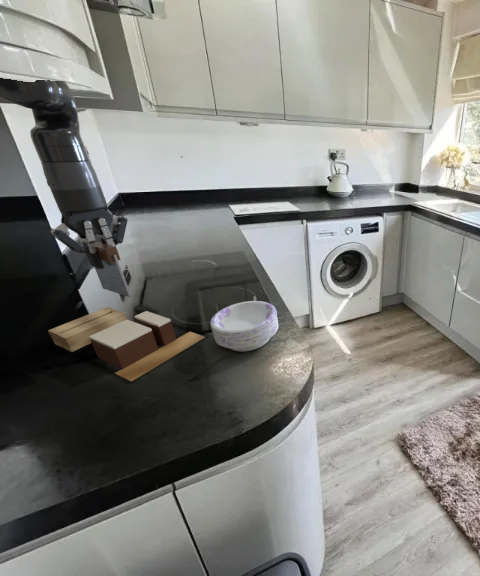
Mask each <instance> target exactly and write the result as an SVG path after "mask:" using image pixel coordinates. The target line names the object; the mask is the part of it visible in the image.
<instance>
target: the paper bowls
mask: <svg viewBox="0 0 480 576" xmlns="http://www.w3.org/2000/svg"><path fill="white" fill-rule="evenodd" d="M277 312H278V311H277V309H276V307H275V306H274V305H273V304H271V303H269V302H267V301H261V300H249V301H242V302H241V301H240V302H237V303H233V304H230V305H228V306H226V307H223V308H222V309H220V310H219V311H217V312H216V313H215V314H214V315H213V316H212V317H211V319H210V322H209V324H210V327H211V332H212V337H213V338H214V341H215V344H217V345H218V346H221V347H223V348H226V349H231V350H232V351H234V352H235V351H236V352H250V351H254V350H256V349H257V350H258V349H259V348H261V347H264V345H266V344H267V343H268V342H269V340H270V339H271V338H272V337H274V335H275V334H276V333H277V332H278V330H279V320H278V313H277Z"/></svg>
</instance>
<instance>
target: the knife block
mask: <svg viewBox="0 0 480 576" xmlns="http://www.w3.org/2000/svg"><path fill="white" fill-rule="evenodd" d="M126 315H127V314H126V312H123V311H121V310H119V309H115V308H113V307H109V306H107V307H104V308H101V309H99V310H96V311H94V312H91V313H89V314H85V315H83V316H81V317H78V318H76V319H73V320H71V321H68V322H65V323H64V324H60V325H58V326H56V327H53V328H51V329H48V331H47V332H48V334H49V336H50V337H51V339H52V341H53V343H54V345H56V346H59V347H60V348H62V349H65V350H66V351H69V352H71V353H73V352H75V351H78V350H79V349H81V348H84V347H86V346H88V345H91V344H92V343H91V340H90V338H89V336H91V335H93V334H95V333H98V332H100V331H102V330H104V329H107V328H109V327H111V326H114V325H116V324H118V323H120V322H123V321H125V320H128V318H127V316H126Z"/></svg>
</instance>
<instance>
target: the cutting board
mask: <svg viewBox="0 0 480 576" xmlns="http://www.w3.org/2000/svg"><path fill="white" fill-rule="evenodd" d="M205 338H206V336H204V335H202V334H198V333H195V332H192V331H188V332H186V333H184V334H182V335H180V336H179V337H176V340H175V341H173V342H171V343H169V344H167V345H166V346H165V345H163V346H161V347H158V350H157V351H155V352H153V353H151V354H149V355H148V356H146V357H144V358H142V359H140V360H139V361H137V362H135V363H133V364H131V365H130V366H128V367H126V368H124V369H121V368H120V369H119V370H118V371H116V372H114V375H117V376H119V377H121V378H123V379H125V380H127V381H129V382H133V381H135V380H137V379H138V378H140V377H142V376H143V375H145V374H147V373H148V372H150V371H152V370H153V369H155V368H157V367H158V366H160V365H161V364H163V363H165V362H166V361H169V360H170V359H172V358H173V357H175V356H176V355H179V354H180V353H181V352H182V353H183V352H184V351H185V350H186V349H188V348H190V347H191V346H194V345H195V344H197V343H199V342H200V341H201V340H203V339H205Z"/></svg>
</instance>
